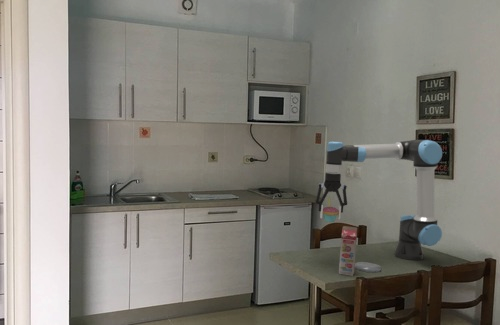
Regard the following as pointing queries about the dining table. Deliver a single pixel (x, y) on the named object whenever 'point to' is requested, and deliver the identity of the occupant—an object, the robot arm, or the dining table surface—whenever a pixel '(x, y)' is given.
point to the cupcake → (330, 213)
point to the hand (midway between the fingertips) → (330, 218)
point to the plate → (367, 267)
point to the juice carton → (348, 250)
